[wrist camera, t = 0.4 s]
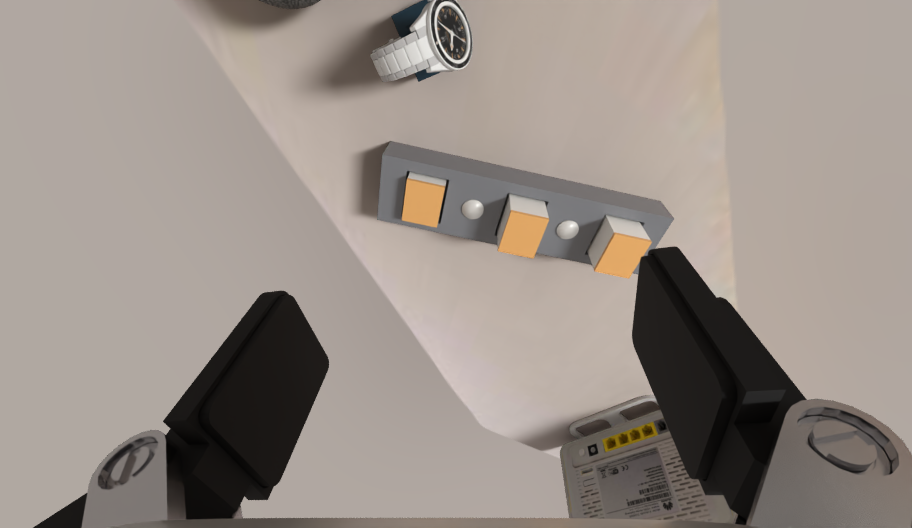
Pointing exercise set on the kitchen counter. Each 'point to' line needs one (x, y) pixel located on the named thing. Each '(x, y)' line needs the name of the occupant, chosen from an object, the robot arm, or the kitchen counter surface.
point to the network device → (633, 472)
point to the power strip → (485, 193)
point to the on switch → (423, 199)
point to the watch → (426, 42)
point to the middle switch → (522, 225)
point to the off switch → (618, 246)
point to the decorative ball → (290, 3)
